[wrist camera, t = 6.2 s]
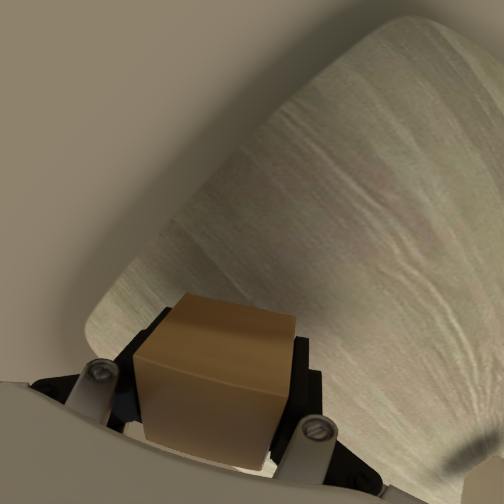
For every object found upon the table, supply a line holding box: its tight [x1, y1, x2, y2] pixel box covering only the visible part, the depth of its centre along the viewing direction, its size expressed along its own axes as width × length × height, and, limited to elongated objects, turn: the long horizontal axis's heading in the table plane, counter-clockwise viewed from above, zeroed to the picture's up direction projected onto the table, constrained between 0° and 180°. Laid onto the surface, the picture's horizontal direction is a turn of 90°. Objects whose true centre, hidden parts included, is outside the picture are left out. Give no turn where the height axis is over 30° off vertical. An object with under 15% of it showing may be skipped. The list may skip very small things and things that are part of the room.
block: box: [133, 293, 296, 471], centre depth 10 cm, size 4×4×4 cm
